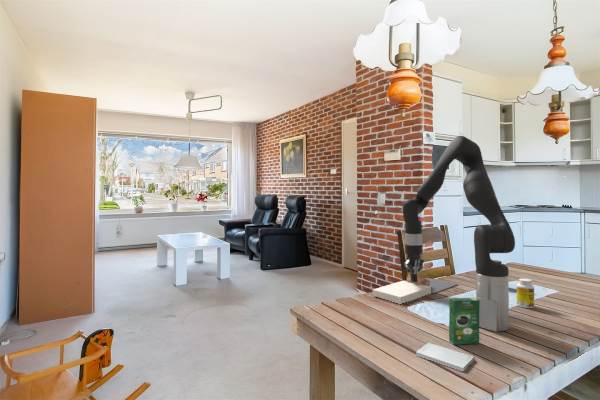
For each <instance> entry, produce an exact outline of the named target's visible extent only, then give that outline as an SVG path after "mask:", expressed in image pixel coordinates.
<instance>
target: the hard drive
mask: <svg viewBox="0 0 600 400" xmlns="http://www.w3.org/2000/svg"><path fill="white" fill-rule="evenodd" d="M415 356H416V357H419V358H421V357H422V359H424V358H425V359H424V360H428V361H430V360H431V362H433V361H434V362H433V363H436V362H437V363H436V364H439V363H440V364H439V365H441V364H442V366H444V365H445V366H444V367H447V366H448V368H450V367H451V368H450V369H453V368H454V369H453V370H456V369H457V370H456V371H459V370H460V371H459V372H461V371H464V372H466V370H467V369H468V368H469V367H470V366H471V365H472V364H473V363H474V362H475V361H474V360H476V359H475V356H474V355H473V356H472V355H469V354H466V353H462V352H459V351H456V350H455V349H451V348H446V347H444V346H440V345H437V344H434V343H431V342H427V343H426V344H424V346H422V347H421V348H419V349H418V350H417V351H416V352H415ZM473 361H474V362H473ZM472 362H473V363H472ZM471 363H472V364H471ZM470 364H471V365H470ZM469 365H470V366H469ZM468 366H469V367H468Z"/></svg>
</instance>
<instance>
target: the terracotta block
mask: <svg viewBox="0 0 600 400" xmlns="http://www.w3.org/2000/svg"><path fill="white" fill-rule="evenodd" d="M405 281H408V282H411V274H407V276H406V280H405ZM412 283H416V284H421V285H425V286H429V285H430V281H429V280H427V279H425V278H424V277H421V276H417V282H412Z"/></svg>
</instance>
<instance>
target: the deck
mask: <svg viewBox="0 0 600 400" xmlns="http://www.w3.org/2000/svg"><path fill="white" fill-rule="evenodd" d="M428 294H429V295H432V294H431V287H430V286H425V285H421V284H416V283H412V282H408V281H406V280H400V281H397V282H393V283H390V284H387V285H383V286H380V287H378V288H377V287H376V288H373V289H372V296H373V295H375V296H378V297H380V298H383V299H386V300H389V301H388V302H390V301H392V302H391V303H393V302H395V303H394V304H396V303H398V304H397V305H400V304H401V305H403V304H402V303H404V304H406V303H405V302H407V303H409V302H412V301H415V300H417V298H418V299H420V298H422V296H423V297H425V295H426V296H428ZM383 299H382V300H383ZM386 300H385V301H386ZM408 301H409V302H408Z"/></svg>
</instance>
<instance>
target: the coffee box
mask: <svg viewBox="0 0 600 400" xmlns="http://www.w3.org/2000/svg"><path fill="white" fill-rule="evenodd" d="M479 311H480V300H478V299H476V297H449V315H448V316H449V318H448V320H449V323H448V324H449V326H448V327H449V329H448V330H449V331H448V336H449V337H448V341H449V343H451V344H452V345H454V346H455V345H456V346H458V345H459V346H460V345H476V344H477V345H478V344H480V327H479Z"/></svg>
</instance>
